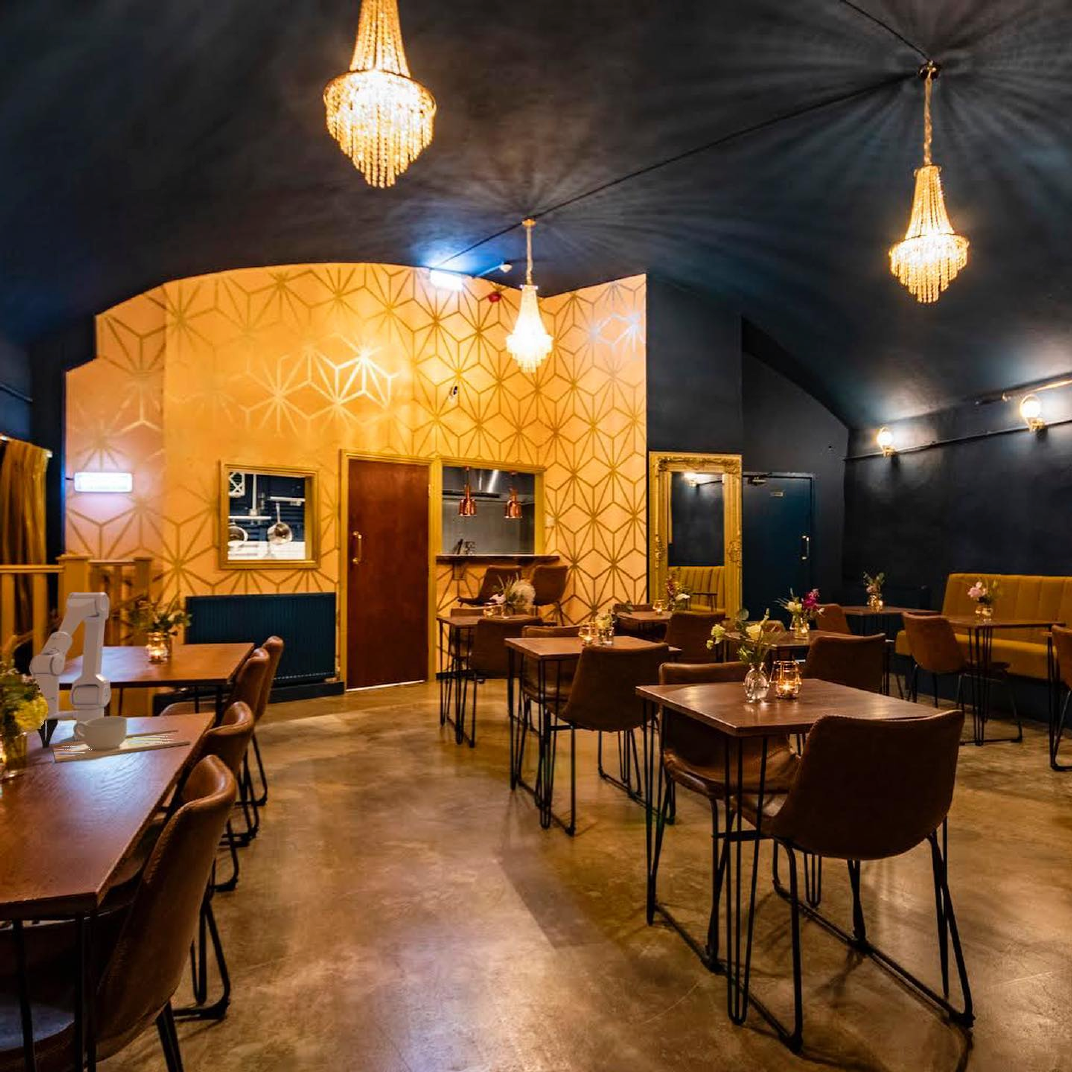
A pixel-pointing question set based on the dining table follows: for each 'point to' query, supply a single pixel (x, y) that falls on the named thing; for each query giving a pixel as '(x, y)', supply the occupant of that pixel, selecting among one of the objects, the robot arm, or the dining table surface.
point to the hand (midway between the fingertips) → (45, 747)
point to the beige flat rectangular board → (120, 749)
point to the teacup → (103, 732)
